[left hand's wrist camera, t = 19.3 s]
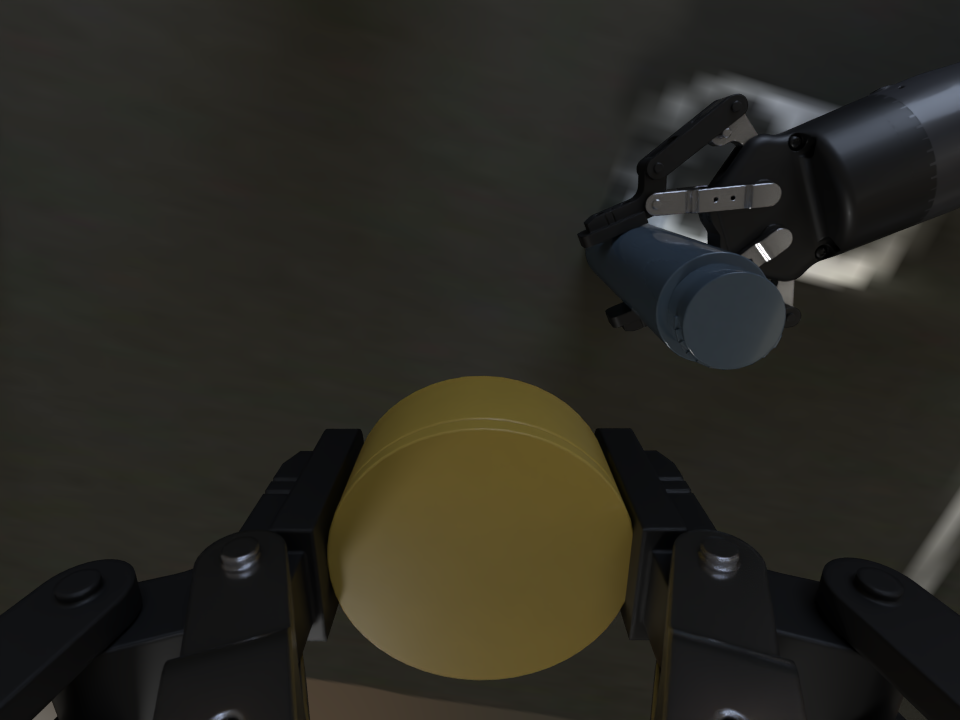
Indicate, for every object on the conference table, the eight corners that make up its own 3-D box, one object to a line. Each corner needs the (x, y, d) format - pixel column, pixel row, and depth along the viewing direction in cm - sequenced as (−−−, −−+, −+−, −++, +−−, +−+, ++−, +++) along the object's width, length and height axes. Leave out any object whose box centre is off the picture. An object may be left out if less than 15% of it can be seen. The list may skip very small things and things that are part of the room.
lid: (637, 550, 12) (671, 635, 10) (416, 618, 12) (403, 710, 10) (561, 335, 10) (582, 382, 8) (310, 427, 11) (269, 490, 9)
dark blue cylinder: (574, 265, 39) (648, 352, 20) (603, 205, 37) (712, 238, 19) (630, 290, 39) (754, 398, 20) (661, 231, 38) (824, 290, 19)
